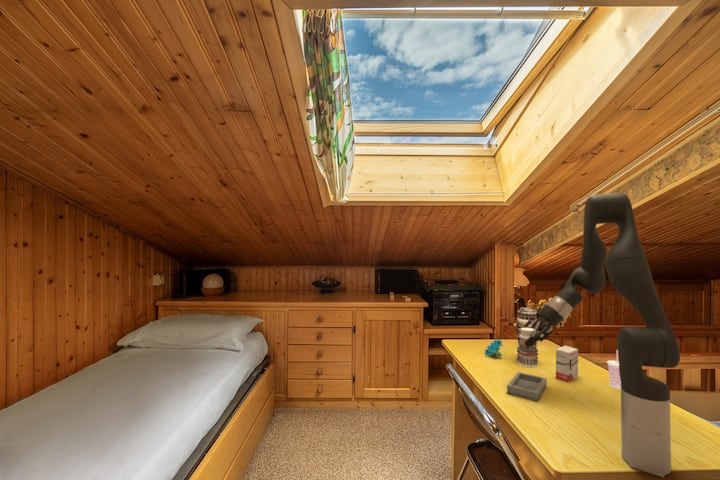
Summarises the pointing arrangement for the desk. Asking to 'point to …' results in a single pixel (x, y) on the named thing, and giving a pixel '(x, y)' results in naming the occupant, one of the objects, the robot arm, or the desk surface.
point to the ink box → (566, 363)
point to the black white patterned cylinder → (523, 318)
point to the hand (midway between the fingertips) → (522, 342)
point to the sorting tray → (527, 386)
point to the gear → (494, 348)
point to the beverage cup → (614, 373)
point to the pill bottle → (523, 349)
